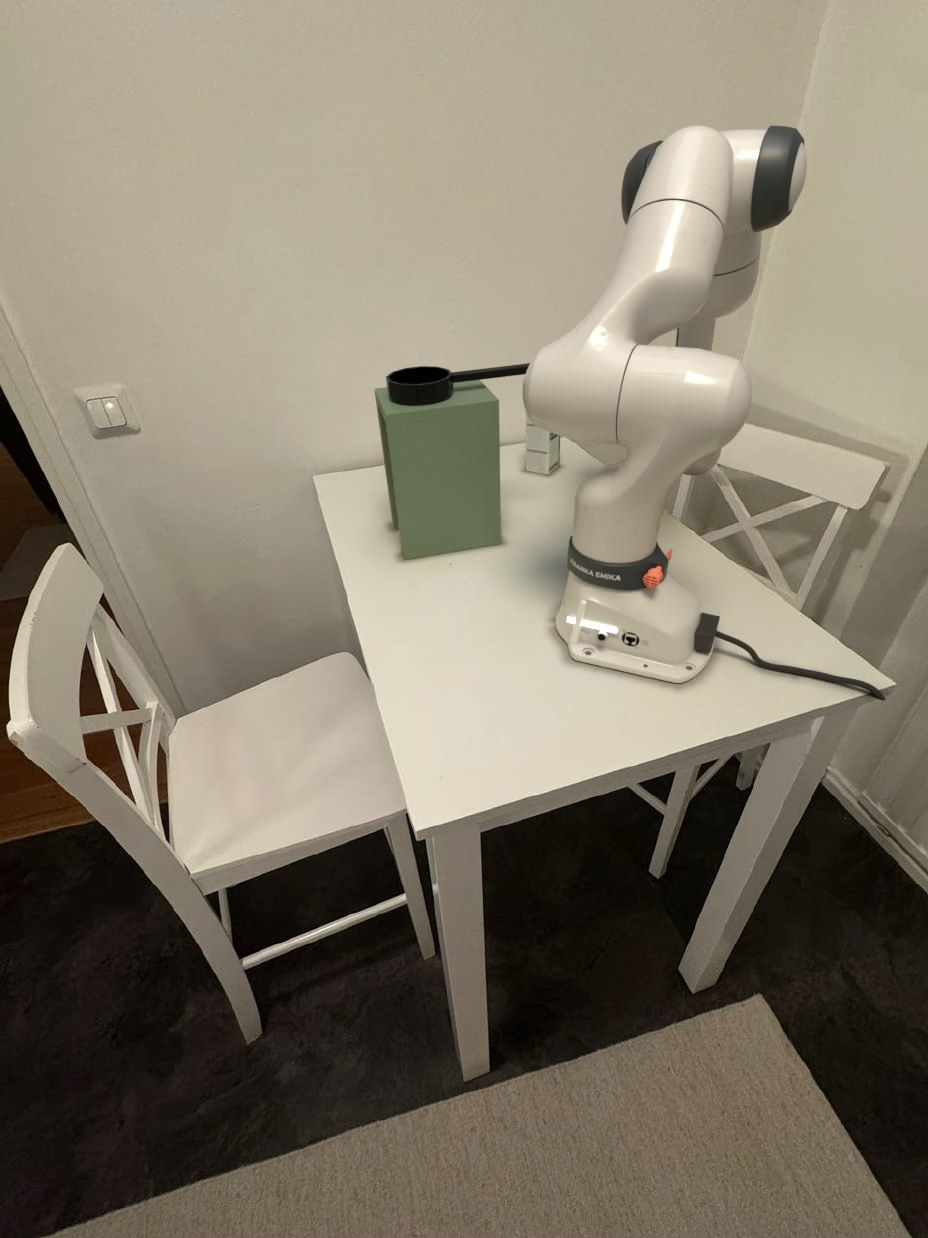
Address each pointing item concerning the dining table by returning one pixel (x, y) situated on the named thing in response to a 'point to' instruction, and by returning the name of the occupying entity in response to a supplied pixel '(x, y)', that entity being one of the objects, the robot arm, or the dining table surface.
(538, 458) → the syrup box
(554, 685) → the dining table surface
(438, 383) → the pan
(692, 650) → the robot arm
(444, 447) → the green hollow pedestal
